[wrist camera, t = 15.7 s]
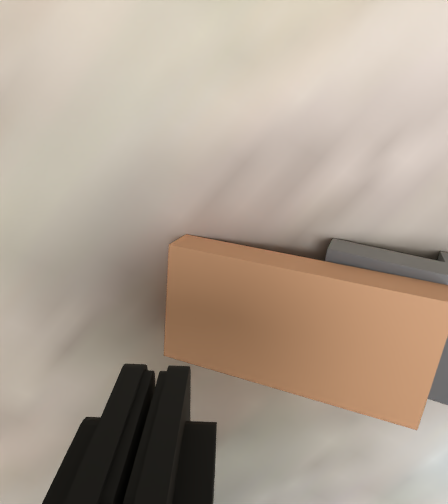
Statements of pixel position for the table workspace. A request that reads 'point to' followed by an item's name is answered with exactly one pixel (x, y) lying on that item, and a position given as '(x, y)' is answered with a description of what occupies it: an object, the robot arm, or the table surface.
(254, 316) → the domino
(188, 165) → the table surface
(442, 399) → the domino
